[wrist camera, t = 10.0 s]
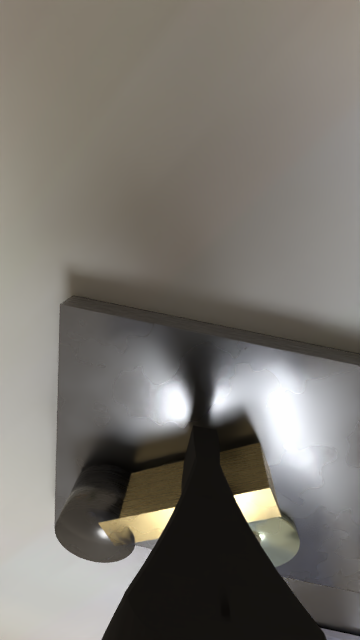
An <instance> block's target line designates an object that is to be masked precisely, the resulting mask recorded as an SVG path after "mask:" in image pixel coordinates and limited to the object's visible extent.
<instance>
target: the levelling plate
mask: <svg viewBox="0 0 360 640" xmlns="http://www.w3.org/2000/svg"><path fill="white" fill-rule="evenodd" d="M193 425H194V426H200V427H205V428H210V429H215V430H217V433H218V437H219V443H220V452H222V451H226V450H230V449H234V448H239V447H243V446H247V445H251V444H255V443H260V445H261V448H262V450H263V453H264V455H265V458H266V460H267V463H268V465H269V468H270V472H271V476H272V480H273V484H274V488H275V492H276V496H277V501H278V505H279V509H280V513H281V517H275V518H270V519H264V520H258V521H253V522H248V524H249V526H250V528H251V530H252V531H253V533H254V535H255V536H256V538H257V540H258V542H259V543H260V545H261V546H262V548H263V549H264V551H265V552H266V554H267V556H268V557H269V559H270V560H271V562H272V563H273V565H274V566H275V568H276V569H277V571H278V572H279V574H280V575H281V576H283V577H287V578H292V579H297V580H302V581H306V582H311V583H316V584H320V585H325V586H330V587H335V588H339V589H344V590H349V591H353V592H358V593H360V354H356V353H351V352H346V351H341V350H337V349H332V348H327V347H322V346H317V345H312V344H307V343H302V342H297V341H293V340H288V339H283V338H278V337H273V336H268V335H263V334H258V333H253V332H248V331H244V330H239V329H234V328H229V327H224V326H219V325H214V324H209V323H204V322H199V321H195V320H190V319H185V318H180V317H175V316H170V315H165V314H160V313H155V312H151V311H146V310H141V309H136V308H131V307H126V306H121V305H116V304H111V303H106V302H102V301H97V300H92V299H87V298H82V297H77V296H72V297H71V298H69V299H68V300H66V301H65V302H63V303H62V304H60V330H59V370H58V410H57V451H56V491H55V525H56V522H57V520H58V518H59V516H60V514H61V511H62V509H63V507H64V505H65V503H66V501H67V499H68V497H69V495H70V492H71V490H72V488H73V486H74V484H75V482H76V480H77V478H78V476H79V474H80V473H81V472H82V471H83V470H85V469H87V468H89V467H91V466H95V465H113V466H117V467H120V468H123V469H125V470H127V471H129V472H131V473H134V472H138V471H142V470H147V469H151V468H155V467H159V466H163V465H168V464H172V463H176V462H180V461H184V458H185V454H186V450H187V447H188V443H189V439H190V435H191V431H192V427H193ZM158 539H159V538H158ZM158 539H153V540H147V541H142V542H136V543H135V545H136V546H141V547H146V548H150V549H153V548H154V546H155V544H156V542H157V541H158Z"/></svg>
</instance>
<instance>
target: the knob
mask: <svg viewBox="0 0 360 640" xmlns="http://www.w3.org/2000/svg"><path fill="white" fill-rule="evenodd" d="M183 465H184V461H180V462H176V463H172V464H168V465H163V466H159V467H155V468H151V469H147V470H142V471H138V472H134V473H131V472H129V471H127V470H125V469H123V468H120V467H117V466H113V465H95V466H91V467H89V468H87V469H85V470H83V471H82V472H81V473H80V474H79V476H78V478H77V480H76V482H75V484H74V486H73V488H72V490H71V492H70V495H69V497H68V499H67V501H66V503H65V505H64V507H63V509H62V511H61V514H60V516H59V518H58V520H57V522H56V525H55V534H56V537H57V539H58V540H59V542H60V543H61V544H62V546H63V547H64V548H66V549H67V550H68V551H69V552H71V553H73V554H74V555H76V556H78V557H80V558H83V559H86V560H89V561H94V562H103V563H107V562H115V561H119V560H122V559H124V558H126V557H127V556H129V555H130V554H131V553H132V551H133V550H134V547H135V543H136V542H142V541H147V540H153V539H158V538H159V537H160V536H161V534H162V532H163V530H164V528H165V526H166V525H167V523H168V521H169V519H170V517H171V515H172V513H173V511H174V509H175V507H176V505H177V503H178V500H179V498H180V496H181V484H182V474H183ZM220 465H221V468H222V470H223V472H224V475H225V477H226V480H227V482H228V484H229V487H230V489H231V491H232V493H233V495H234V497H235V499H236V502H237V504H238V506H239V508H240V509H241V511H242V513H243V515H244V517H245V519H246V521H247V522H253V521H258V520H264V519H270V518H275V517H281V513H280V509H279V505H278V501H277V496H276V492H275V488H274V484H273V480H272V476H271V472H270V468H269V465H268V463H267V460H266V458H265V455H264V453H263V450H262V448H261V445H260V443H255V444H251V445H247V446H243V447H239V448H234V449H230V450H226V451H222V452H220Z"/></svg>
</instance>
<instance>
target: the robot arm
mask: <svg viewBox="0 0 360 640" xmlns="http://www.w3.org/2000/svg"><path fill="white" fill-rule="evenodd" d="M102 640H360V636H356V635H352V634H347V633H342V632H338V631H333V630H328V629H324V628H320V627H319V626H318V625H317V623H316V622H315V621H314V620H313V618H312V617H311V616H310V615H309V613H308V612H307V611H306V609H305V608H304V607H303V606H302V604H301V603H300V602H299V600H298V599H297V598H296V596H295V595H294V594H293V592H292V591H291V589H290V588H289V587H288V585H287V584H286V582H285V581H284V580H283V578H282V577H281V575H280V574H279V572H278V571H277V569H276V568H275V566H274V565H273V563H272V562H271V560H270V559H269V557H268V556H267V554H266V552H265V551H264V549H263V548H262V546H261V545H260V543H259V542H258V540H257V538H256V536H255V535H254V533H253V531H252V530H251V528H250V526H249V524H248V522H247V521H246V519H245V517H244V515H243V513H242V511H241V509H240V508H239V506H238V504H237V502H236V499H235V497H234V495H233V493H232V491H231V489H230V487H229V484H228V482H227V480H226V477H225V475H224V472H223V470H222V468H221V465H220V443H219V437H218V433H217V430H215V429H210V428H205V427H200V426H194V425H193V427H192V431H191V435H190V439H189V443H188V447H187V450H186V454H185V458H184V465H183V474H182V484H181V496H180V498H179V500H178V503H177V505H176V507H175V509H174V511H173V513H172V515H171V517H170V519H169V521H168V523H167V525H166V526H165V528H164V530H163V532H162V534H161V536H160V537H159V539H158V541H157V542H156V544H155V546H154V548H153V549H152V551H151V553H150V554H149V556H148V558H147V559H146V561H145V563H144V564H143V566H142V567H141V569H140V570H139V572H138V573H137V575H136V576H135V578H134V579H133V581H132V583H131V584H130V586H129V587H128V589H127V590H126V592H125V594H124V596H123V598H122V600H121V602H120V604H119V606H118V608H117V609H116V611H115V613H114V615H113V617H112V619H111V621H110V623H109V625H108V627H107V629H106V631H105V634H104V636H103V638H102Z"/></svg>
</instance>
